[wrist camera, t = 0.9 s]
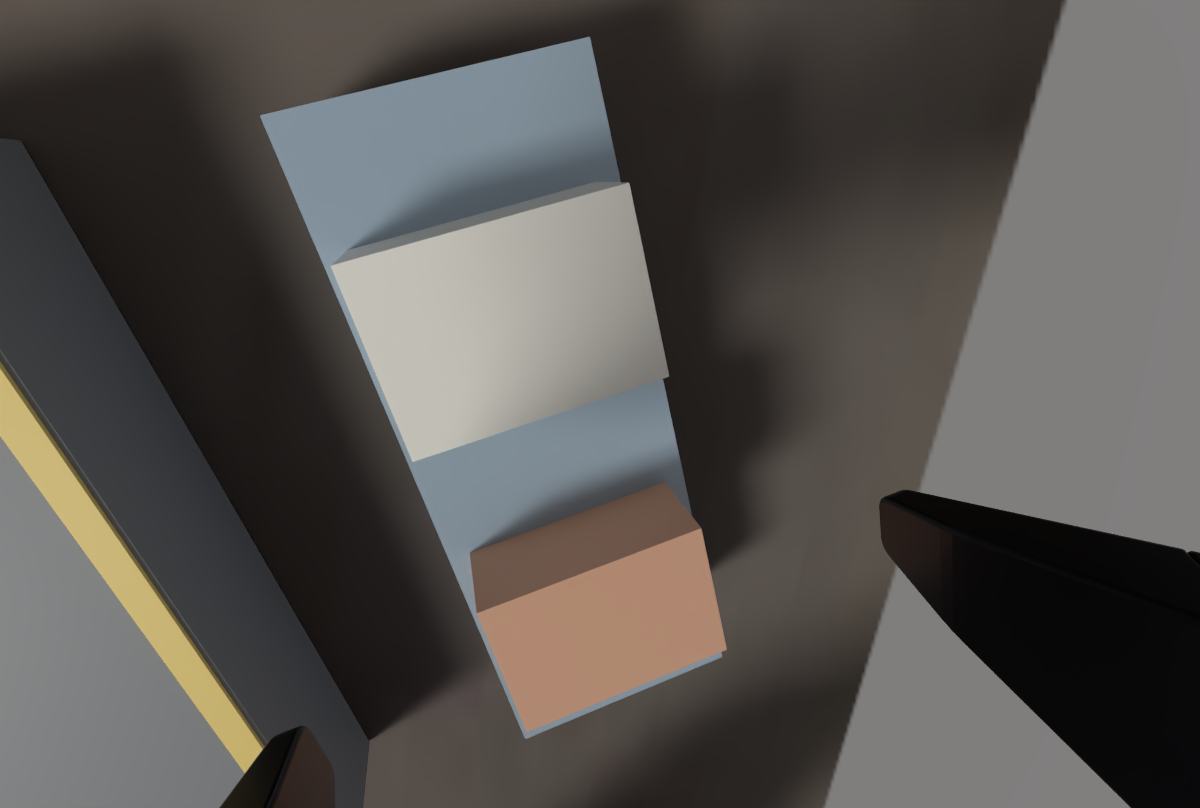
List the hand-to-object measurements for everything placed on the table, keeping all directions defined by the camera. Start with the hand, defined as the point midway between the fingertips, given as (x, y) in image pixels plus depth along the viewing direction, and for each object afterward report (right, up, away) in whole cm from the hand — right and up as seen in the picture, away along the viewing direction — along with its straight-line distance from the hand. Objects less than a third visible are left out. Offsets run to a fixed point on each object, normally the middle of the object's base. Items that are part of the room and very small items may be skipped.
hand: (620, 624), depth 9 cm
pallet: (-2, +3, +8) cm, 9 cm away
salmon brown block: (-1, -1, +6) cm, 7 cm away
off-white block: (-2, +5, +4) cm, 7 cm away
